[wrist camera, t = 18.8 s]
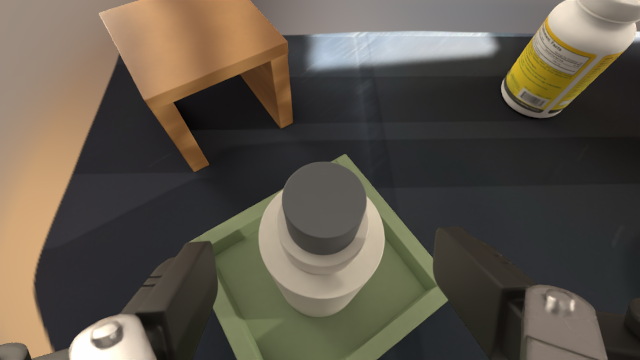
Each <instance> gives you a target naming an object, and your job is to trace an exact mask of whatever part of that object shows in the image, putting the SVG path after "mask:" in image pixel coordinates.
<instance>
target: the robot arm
mask: <svg viewBox="0 0 640 360" xmlns="http://www.w3.org/2000/svg"><path fill="white" fill-rule="evenodd" d="M433 275H434V278H435V281H436V283H437V285H438V286H439V288H440V289H441V291H442V292H443V294H444V295H445V296H446V298H447V299H448V301H449V302H450V303H451V305H452V306H453V308H454V309H455V311H456V312H457V313H458V315H459V316H460V318H461V319H462V321H463V322H464V323H465V325H466V326H467V328H468V329H469V331H470V332H471V333H472V335H473V336H474V338H475V339H476V341H477V342H478V343H479V345H480V346H481V348H482V349H483V351H484V352H485V353H486V355H487V356H488V358H489V359H490V360H640V298H636V299H633V300H631V301H630V303H629V306H628V310H627V313H626V315H623V314H616V313H609V312H602V311H595V310H594V309H593V307H592V306H591V305H590V304H589V303H588V302H587V301H586V300H584V299H583V298H581V297H580V296H578V295H576V294H574V293H572V292H570V291H567V290H564V289H561V288H558V287H554V286H548V285H538V284H537V283H536V282H534V281H533V280H532V279H531V278H530V277H528V276H527V275H526V274H525V273H524V272H522V271H521V270H520V269H519V268H517V267H516V266H515V265H514V264H513V263H512V264H511V263H510V261H509V260H508V259H507V258H505V257H504V256H502V254H500V253H499V252H498V251H497V250H496V249H494V248H493V247H492V246H490V245H488V244H486V243H484V242H482V241H480V240H478V239H474V238H473V237H472V236H471V235H470V234H469V233H467V232H466V231H465V230H464V229H463V228H461V227H443V228H438V229H437V230H436V234H435V244H434V257H433ZM217 293H218V278H217V271H216V265H215V258H214V251H213V246H212V243H211V242H210V241H200V242H187V243H186V244H185V245H184V247H183V248H182V250H181V251H180V252H179V254H178V255H177V256H176V257H171V258H169V259H168V260H166V261H165V262H163V263H162V264H160V265H159V266H158V267H157V268H156V269H155V270H154V272H153V273H152V274H151V275H150V278H149V279H147V280H146V282H145V283H144V284H143V287H141V288H140V289H139V290H138V291H137V293H136V294H135V295H134V296H133V298H132V299H131V300H130V301H129V303H128V304H127V305H126V306H125V308H124V309H123V310H122V311H121V313H120V314H119V315H115V316H111V317H108V318H105V319H103V320H100V321H98V322H96V323H94V324H93V325H91V326H89V327H88V328H86V329H85V330H84V331H82V332H81V333H80V334H79V335H78V336H77V337H76V338H75V339H74V340H73V342H72V344H71V346H70V348H68V349H64V350H61V351H57V352H54V353H50V354H47V355H43V356H40V357H36V358H33V359H31V356H30V354H29V351H28V349H27V347H26V346H25V345H24V344H21V343H8V344H3V345H0V360H192V358H193V355H194V353H195V350H196V348H197V345H198V343H199V340H200V338H201V335H202V333H203V330H204V328H205V325H206V323H207V320H208V318H209V315H210V313H211V310H212V308H213V305H214V303H215V300H216V297H217Z"/></svg>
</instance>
